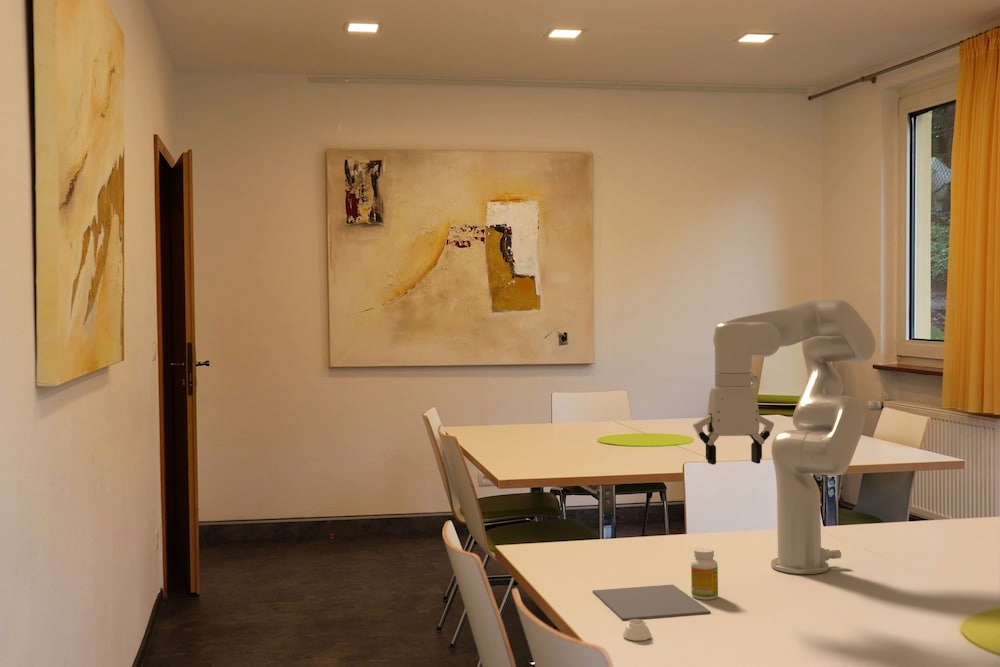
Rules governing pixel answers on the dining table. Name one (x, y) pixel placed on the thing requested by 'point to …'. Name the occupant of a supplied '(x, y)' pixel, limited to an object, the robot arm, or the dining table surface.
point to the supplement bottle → (704, 575)
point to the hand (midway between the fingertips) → (733, 463)
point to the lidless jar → (636, 631)
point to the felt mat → (649, 602)
